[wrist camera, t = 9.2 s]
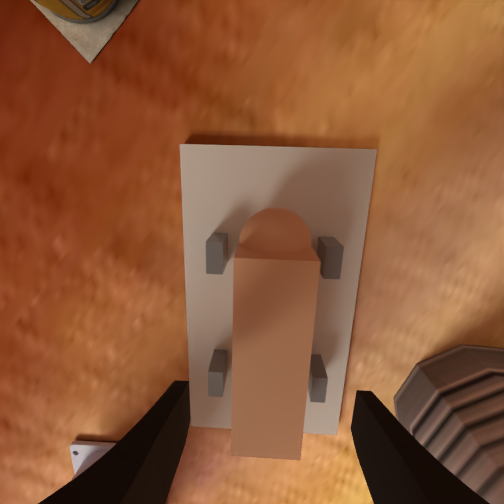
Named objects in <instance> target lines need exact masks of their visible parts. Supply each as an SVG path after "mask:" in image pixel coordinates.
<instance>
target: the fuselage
mask: <svg viewBox="0 0 504 504" xmlns="http://www.w3.org/2000/svg"><path fill="white" fill-rule="evenodd" d="M320 265H321V261H320V259H319V258H318V256H317V254H316V253H315V251H314V249H313V248H312V246H311V236H310V232H309V230H308V227H307V225H306V224H305V222H304V221H303V220H302V219H301V218H300V217H299V216H298V215H297V214H295V213H294V212H292V211H290V210H287V209H284V208H278V207H272V208H266V209H263V210H261V211H258V212H257V213H255V214H254V215H252V216H251V217H250V218H249V219H248V220H247V222H246V223H245V224H244V226H243V228H242V231H241V233H240V239H239V244H238V247H237V250H236V253H235V255H234V268H233V337H232V406H231V456H243V457H258V458H274V459H289V460H300V457H301V448H302V438H303V428H304V419H305V409H306V399H307V390H308V380H309V371H310V361H311V351H312V342H313V332H314V322H315V313H316V303H317V294H318V284H319V274H320Z"/></svg>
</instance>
